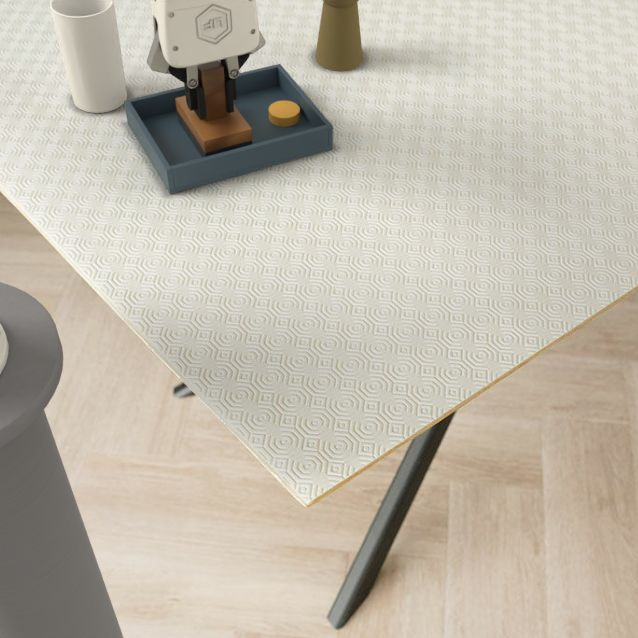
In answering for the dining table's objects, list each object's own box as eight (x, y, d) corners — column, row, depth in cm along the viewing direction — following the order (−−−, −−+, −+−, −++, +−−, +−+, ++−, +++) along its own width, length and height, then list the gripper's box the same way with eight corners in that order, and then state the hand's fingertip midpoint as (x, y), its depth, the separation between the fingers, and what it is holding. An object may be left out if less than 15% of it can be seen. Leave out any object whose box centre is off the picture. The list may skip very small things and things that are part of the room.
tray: (170, 194, 96) (166, 170, 94) (127, 124, 104) (123, 100, 102) (332, 149, 102) (333, 126, 100) (280, 86, 111) (280, 63, 108)
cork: (369, 66, 114) (374, -19, 106) (324, 74, 113) (325, -12, 105) (353, 42, 118) (356, -41, 110) (308, 49, 117) (308, -35, 108)
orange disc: (276, 130, 103) (276, 120, 103) (263, 113, 106) (263, 104, 105) (305, 122, 105) (305, 113, 104) (292, 106, 107) (291, 97, 106)
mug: (138, 105, 107) (123, 8, 98) (83, 121, 104) (62, 23, 96) (106, 65, 113) (88, -30, 104) (53, 79, 110) (31, -17, 101)
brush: (206, 164, 99) (198, 91, 92) (177, 120, 104) (168, 48, 97) (253, 151, 101) (249, 79, 94) (222, 109, 106) (217, 38, 99)
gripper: (126, -27, 81) (152, 146, 95) (291, -58, 87) (293, 110, 100) (101, -61, 86) (130, 109, 99) (260, -88, 91) (266, 76, 105)
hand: (212, 108), depth 100 cm, fingers closed on brush, 2 cm apart
